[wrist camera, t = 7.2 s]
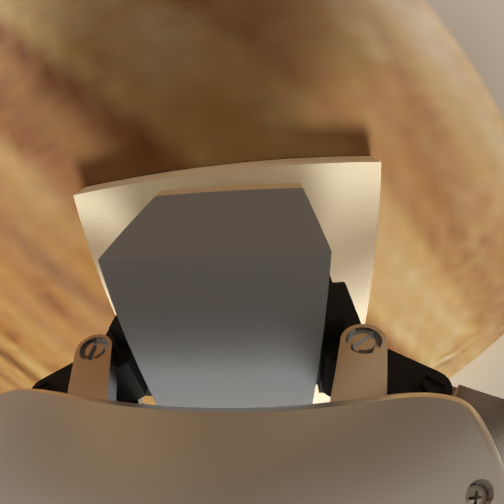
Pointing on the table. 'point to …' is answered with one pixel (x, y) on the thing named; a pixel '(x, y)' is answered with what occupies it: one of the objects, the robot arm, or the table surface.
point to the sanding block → (223, 295)
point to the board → (262, 172)
